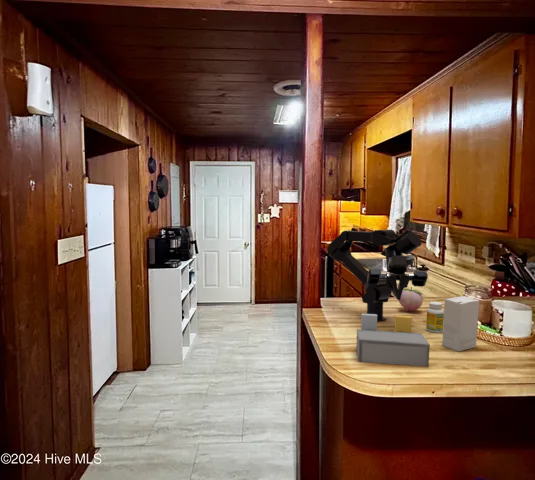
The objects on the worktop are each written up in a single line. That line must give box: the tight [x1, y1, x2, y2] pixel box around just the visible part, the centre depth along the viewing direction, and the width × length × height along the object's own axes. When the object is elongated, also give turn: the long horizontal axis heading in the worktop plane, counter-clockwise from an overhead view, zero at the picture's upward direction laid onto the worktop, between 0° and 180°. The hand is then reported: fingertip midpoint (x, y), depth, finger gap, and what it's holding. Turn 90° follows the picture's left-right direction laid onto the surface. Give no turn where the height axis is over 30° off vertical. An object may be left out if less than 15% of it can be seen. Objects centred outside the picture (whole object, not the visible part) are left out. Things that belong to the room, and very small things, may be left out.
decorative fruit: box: [398, 286, 424, 312], centre depth 154 cm, size 9×8×10 cm
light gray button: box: [360, 313, 378, 331], centre depth 114 cm, size 10×4×8 cm, turn 171°
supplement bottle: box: [425, 301, 444, 334], centre depth 131 cm, size 5×5×10 cm
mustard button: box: [394, 315, 413, 333], centre depth 112 cm, size 10×4×8 cm, turn 171°
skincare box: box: [441, 295, 480, 352], centre depth 116 cm, size 8×6×15 cm
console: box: [355, 329, 431, 368], centre depth 107 cm, size 9×18×6 cm, turn 81°
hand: (399, 299), depth 124 cm, fingers closed
